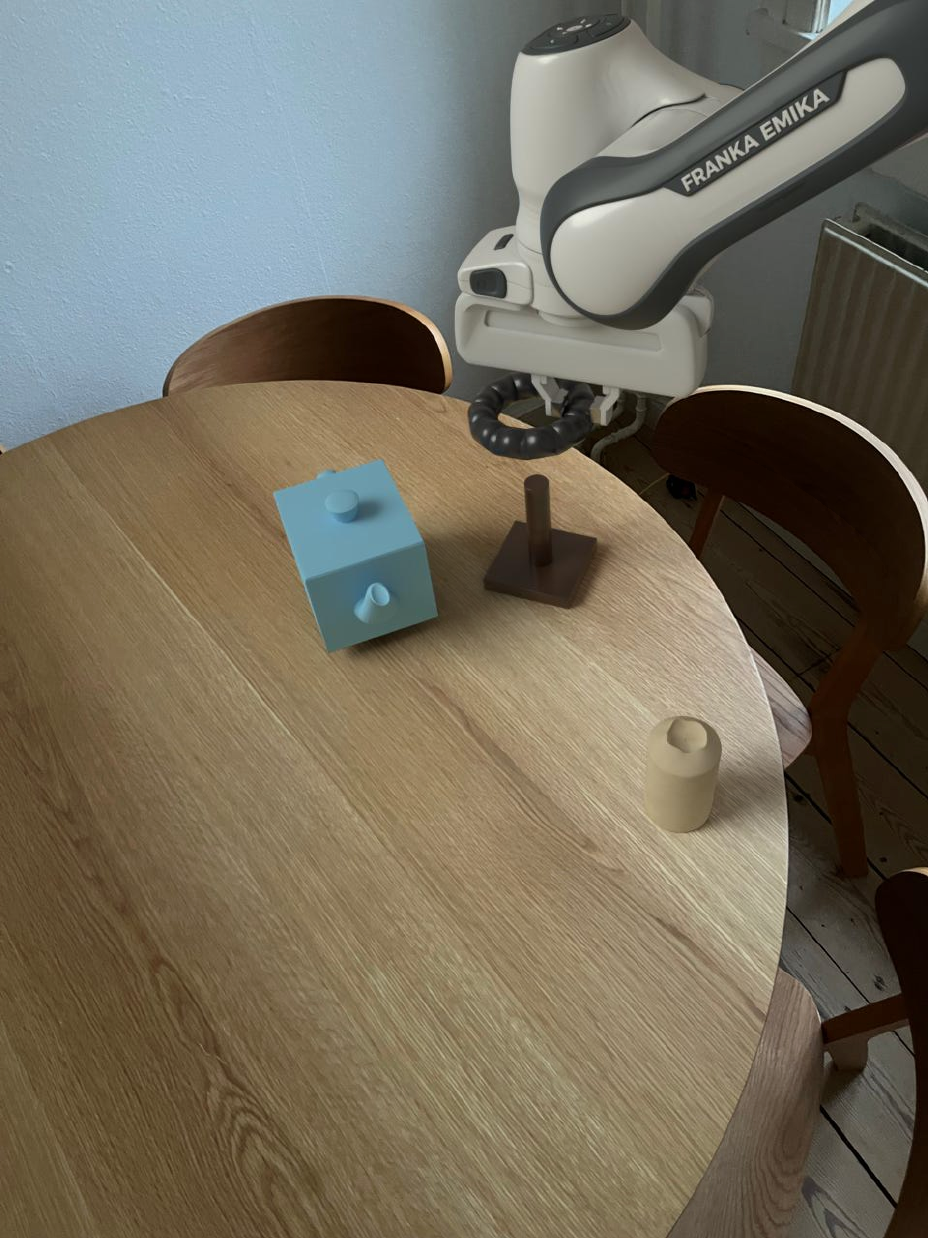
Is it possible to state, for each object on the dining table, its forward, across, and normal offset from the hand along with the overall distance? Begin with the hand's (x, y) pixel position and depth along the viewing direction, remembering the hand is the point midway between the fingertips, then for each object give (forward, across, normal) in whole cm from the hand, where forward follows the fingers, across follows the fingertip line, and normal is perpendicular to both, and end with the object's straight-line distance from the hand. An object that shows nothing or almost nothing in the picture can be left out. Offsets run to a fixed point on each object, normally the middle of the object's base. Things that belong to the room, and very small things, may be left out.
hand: (578, 416), depth 82 cm
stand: (+20, +4, 0) cm, 21 cm away
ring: (0, +4, 0) cm, 4 cm away
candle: (+20, -16, +22) cm, 34 cm away
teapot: (+20, +18, +11) cm, 29 cm away
